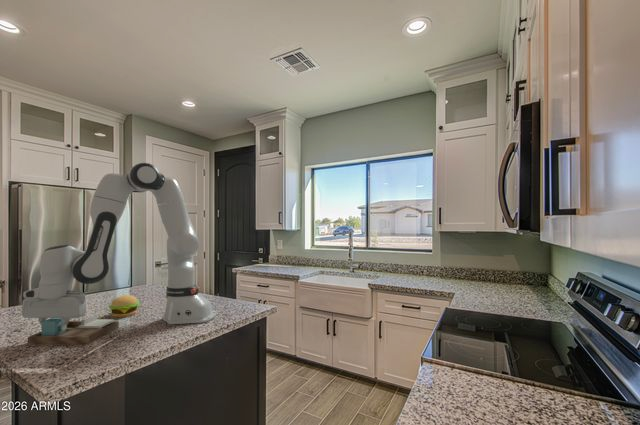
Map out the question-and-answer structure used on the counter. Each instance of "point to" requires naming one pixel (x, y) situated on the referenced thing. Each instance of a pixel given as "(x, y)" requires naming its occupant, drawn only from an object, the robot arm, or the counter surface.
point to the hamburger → (124, 306)
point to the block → (52, 327)
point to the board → (73, 335)
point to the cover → (94, 322)
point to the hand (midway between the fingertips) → (54, 329)
